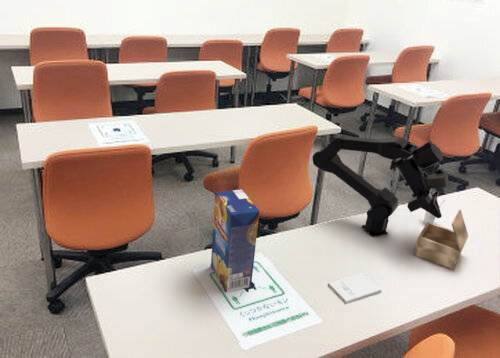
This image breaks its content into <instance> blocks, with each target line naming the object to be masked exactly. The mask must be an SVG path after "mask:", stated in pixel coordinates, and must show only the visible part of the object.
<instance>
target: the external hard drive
mask: <svg viewBox="0 0 500 358" xmlns="http://www.w3.org/2000/svg"><path fill="white" fill-rule="evenodd" d="M327 287H329V288H330V289H331V290H332V291H333V292H334V293H336V295H337V296H338V298H340V300H341V301H342V302H343V303H344V304H350V303H352V302H355V301H358V300H361V299H365V298H368V297H371V296H374V295H376V294H380V293H382V289H381V287H380V286H379V285H378V284H377V283H375V282H374V281H373V279H371V278H370V277H369V276H368V275H367V274H366V273H364V272H361V273H360V272H359V273H357V274H353V275H350V276H346V277H345V278H344V277H343V278H340V279H338V280H333V281H330V282H327Z"/></svg>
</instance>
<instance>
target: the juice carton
mask: <svg viewBox="0 0 500 358" xmlns="http://www.w3.org/2000/svg"><path fill="white" fill-rule="evenodd" d="M214 194H215V195H214V206H213V207H214V208H213V209H214V211H213V224H212V238H211V239H212V241H211V258H210V259H211V260H210V267H211V269H212V270H213V272H214V274H215V276H216V278H217V280H218V282H219V284H220V285H221V288H222V289H223V290H224V292H225V293H228V292H233V291H238V290H241V289H242V290H243V289H248V288H251V287H252V281H253V280H252V279H253V274H254V273H253V271H254V264H255V262H254V261H255V255H256V254H255V253H256V246H257V245H256V244H257V236H258V227H259V219H260V210H259V208H258V207H257V206H256V205H255V204H254V202H253V201H252V199H250V197H249V196H248V195H247V194H246V193H245V191H244V190H243V189H242V188H240V189H238V188H237V189H231V190H230V189H229V190H222V191H215V192H214Z"/></svg>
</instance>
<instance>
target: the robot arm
mask: <svg viewBox="0 0 500 358" xmlns="http://www.w3.org/2000/svg"><path fill="white" fill-rule="evenodd" d="M341 150H346V151H347V150H348V151H353V152H354V151H355V152H363V153H372V154H377V156H380V157H381V158H385V159H389V160H391V161H390V167H389V170H390V171H391V170H392V171H393V170H394V169H396V168H397V170H398V171H399V173H400V175H401V176H402V178H403V179H404V181H405V183H404V185H405V187H409V189H410V190H411V192H412V194H411V196H412V198H411V199H410V200H409V201H408V203H407V206H406V207H407V209H408V210H409V212H410V213H413V212H415V211H417V210H420V209H422V210H424V211H425V212H426V211H427V212H429V213H430V214H432V215H434V216H435V217H436V218H437V219H441V218H442V216H443V214H442V212H441V207H440V208H439V205H438V196H439V194H440V190H438V191H434V190H433V189H436V188H439V189H440V188H441V189H445V188H447V186H448V185H449V183H450V181H449V177H450V176H449V174H448V172H447V171H445V170H444V168H437V169H436V171H435V173H432V174H429V173H428V172H427V171H425V170H424V171H422V169H427V168H429V167H431V166H433V165H436V164H438V163H439V162H442V161H443V160H444V155H443V152H442V151H441V149H440V147H438V145H436V144H435V143H433V142H432V141H431V140H428V141H427V142H425V143H424V144H422V145H421V146H417V145H414V144H413V143H410V142H407V141H406V139H405V138H404V137H402V136H401V137H400V136H397V137H396V136H395V137H394V136H393V137H386V138H385V137H384V138H379V139H378V138H368V137H357V136H349V135H344V134H339V135H338V136H337V137H335V138H334V139H333V140H332V141H331V142H330V143H329V144H328V145H327V146H324V147H321V148H320V149H319V150H317V151H316V152H315V153H313V155H312V163H313V165H314V166H315V167H316V168H318V169H320V170H321V171H323V172H327V173H330V174H333V175H335V176H336V177H337V178H338V179H340V180H341V181H342V182H343V183H345V184H346V185H347V186H349V187H350V188H351V189H353V191H355V192H356V193H358V194H359V195H360V196H362V197H363V198H364V199H365V200H367V202H368V204H369V206H370V208H369V209H368V210H367V211H366V216H367V217H366V219H365V224H362V225H361V227H362V228H363V230H364V231H365V232H366V233H368V235H369V236H371V237H379V236H386V235H388V233H389V232H388V231H387V228H388V224H389V221H390V220H389V217H390V216H392V215H393V213H394V212H395V211H396V209H397V208H398V207H399V199H398V198H397V197H396V194H395V193H393V192H391V191H390V190H389V189H388V188H387V187H383V189H378V188H377V187H375V186H374V185H372V184H371V183H369V181H367V180H365V179H364V177H362V176H361V175H359V174H358V173H357V172H355V171H354V170H352V168H350V167H348V166H347V165H346V164H345V163H343V161H342V159H341V157H340V156H339V154H338V153H339V152H340V151H341Z"/></svg>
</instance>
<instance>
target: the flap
mask: <svg viewBox="0 0 500 358" xmlns="http://www.w3.org/2000/svg"><path fill="white" fill-rule="evenodd" d="M464 219H465V218H464V216H463V212H462V209H458V211H457V212H456V215H455V217H454V218H453V221H452V223H451V227H452V230H453V231H454V234H455V237H456V240H457V244H458V247H459V250H460V251H461V252H463V249H464V247H465V245H466V242H467V239H468V238H469V232H468V230H467V226H466V223H465V220H464Z"/></svg>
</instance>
